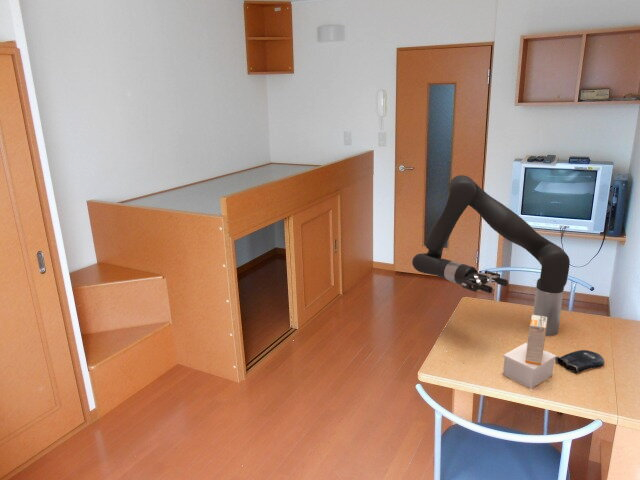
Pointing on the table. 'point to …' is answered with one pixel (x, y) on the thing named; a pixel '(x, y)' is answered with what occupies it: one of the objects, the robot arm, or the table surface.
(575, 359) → the electronic device
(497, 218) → the robot arm
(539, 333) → the supplement box
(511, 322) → the table surface
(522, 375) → the storage box
